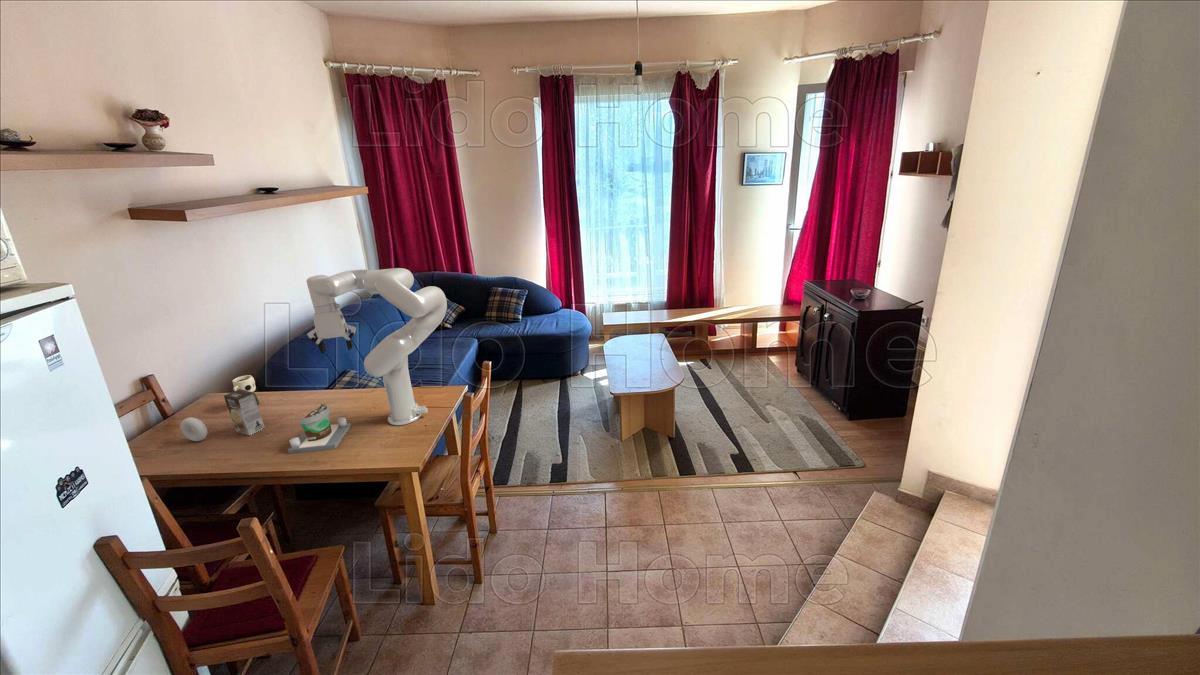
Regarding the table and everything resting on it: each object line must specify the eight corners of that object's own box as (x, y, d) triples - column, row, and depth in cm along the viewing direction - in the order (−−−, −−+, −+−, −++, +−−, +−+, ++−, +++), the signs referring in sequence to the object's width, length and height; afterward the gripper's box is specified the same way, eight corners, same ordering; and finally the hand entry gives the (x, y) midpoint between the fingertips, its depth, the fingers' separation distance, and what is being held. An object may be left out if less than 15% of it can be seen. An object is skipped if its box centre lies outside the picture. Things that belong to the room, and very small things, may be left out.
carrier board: (351, 426, 193) (348, 415, 191) (335, 448, 178) (332, 437, 176) (308, 430, 191) (305, 420, 190) (289, 453, 176) (285, 442, 175)
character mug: (249, 411, 210) (239, 383, 206) (234, 411, 211) (224, 384, 207) (267, 399, 220) (259, 373, 216) (253, 399, 221) (244, 373, 217)
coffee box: (235, 432, 194) (222, 395, 188) (251, 424, 199) (239, 388, 194) (249, 436, 190) (236, 399, 184) (266, 428, 195) (254, 391, 190)
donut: (183, 442, 188) (173, 419, 185) (191, 437, 192) (182, 415, 188) (205, 443, 187) (196, 420, 183) (213, 439, 190) (204, 416, 186)
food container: (320, 444, 178) (313, 419, 174) (305, 443, 179) (298, 419, 175) (342, 426, 189) (336, 403, 186) (328, 426, 190) (321, 402, 187)
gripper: (352, 303, 190) (363, 344, 196) (304, 308, 187) (316, 350, 193) (347, 308, 183) (358, 351, 189) (297, 314, 180) (309, 357, 186)
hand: (337, 350), depth 191 cm, fingers open, 9 cm apart
